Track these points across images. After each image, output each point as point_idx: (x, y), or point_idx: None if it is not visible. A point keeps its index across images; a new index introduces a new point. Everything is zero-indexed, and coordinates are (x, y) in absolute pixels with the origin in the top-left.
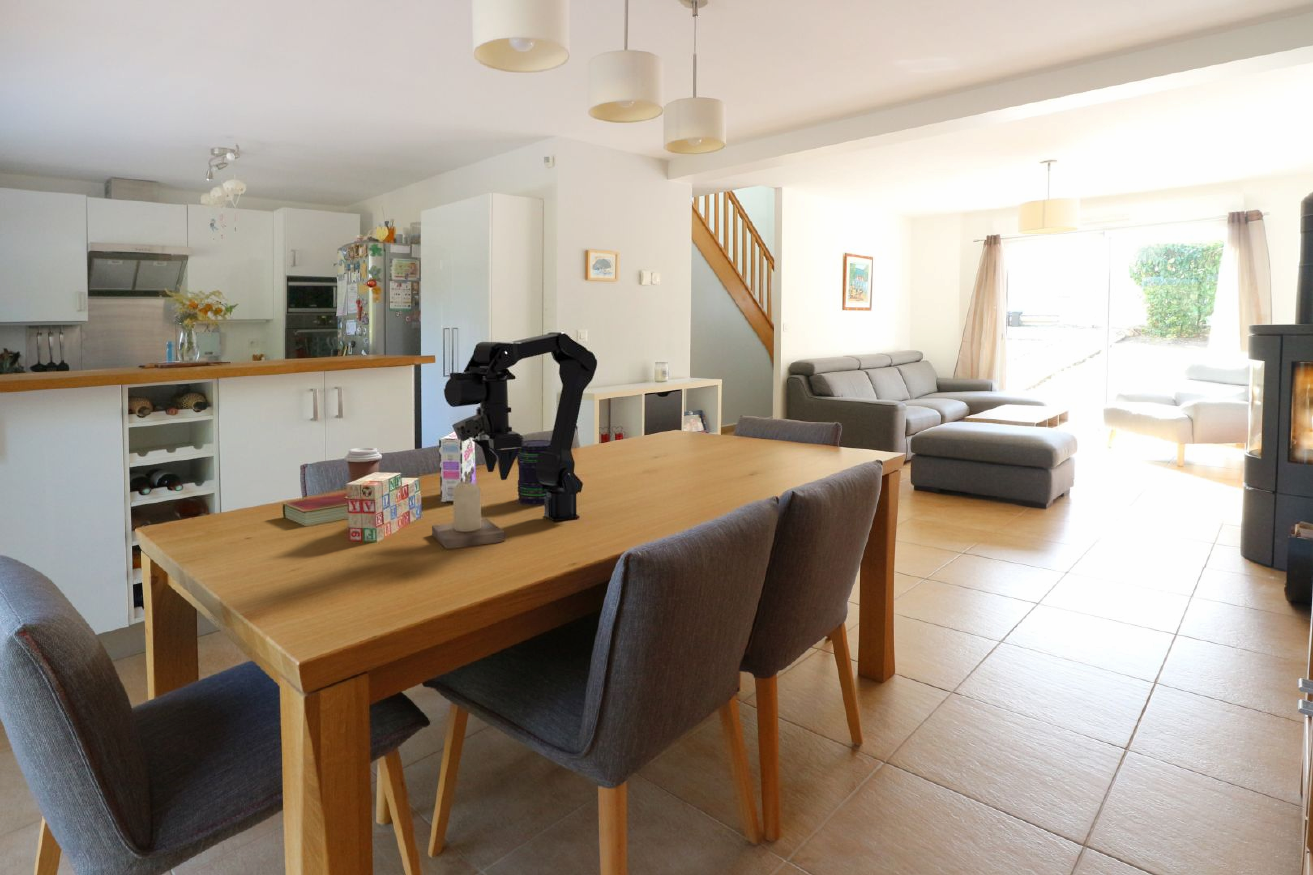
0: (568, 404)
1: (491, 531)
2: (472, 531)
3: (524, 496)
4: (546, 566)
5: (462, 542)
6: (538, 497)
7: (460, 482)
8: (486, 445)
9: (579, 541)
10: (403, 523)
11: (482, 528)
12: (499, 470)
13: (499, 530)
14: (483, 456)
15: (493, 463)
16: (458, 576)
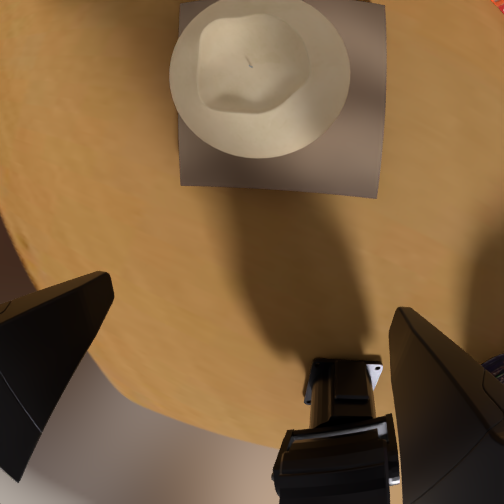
0: None
1: (203, 149)
2: None
3: (500, 370)
4: (19, 199)
5: None
6: None
7: (291, 30)
8: (475, 491)
9: (132, 320)
10: (500, 3)
11: None
12: (55, 290)
13: (204, 177)
14: (482, 371)
15: (397, 379)
16: (23, 42)
